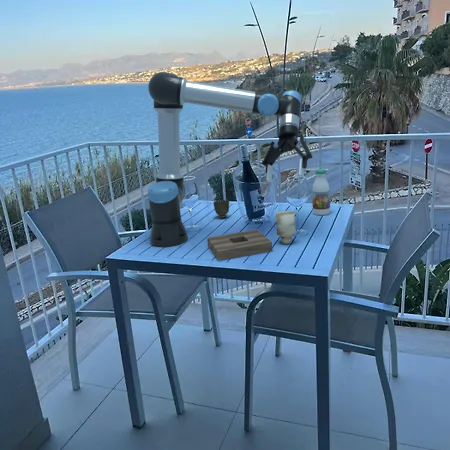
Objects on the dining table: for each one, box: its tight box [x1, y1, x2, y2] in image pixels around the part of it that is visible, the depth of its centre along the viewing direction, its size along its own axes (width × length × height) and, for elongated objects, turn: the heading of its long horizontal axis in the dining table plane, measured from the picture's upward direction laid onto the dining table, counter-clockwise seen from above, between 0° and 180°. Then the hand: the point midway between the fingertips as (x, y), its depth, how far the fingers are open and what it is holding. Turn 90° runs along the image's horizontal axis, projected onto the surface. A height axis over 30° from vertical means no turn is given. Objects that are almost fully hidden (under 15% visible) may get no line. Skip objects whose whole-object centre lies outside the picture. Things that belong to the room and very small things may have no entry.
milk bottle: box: [311, 168, 331, 216], centre depth 182 cm, size 8×8×20 cm
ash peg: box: [275, 210, 296, 245], centre depth 151 cm, size 7×7×11 cm
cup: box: [213, 199, 230, 219], centre depth 190 cm, size 8×7×8 cm
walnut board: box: [206, 229, 273, 262], centre depth 150 cm, size 16×20×4 cm
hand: (284, 179), depth 152 cm, fingers open, 13 cm apart
